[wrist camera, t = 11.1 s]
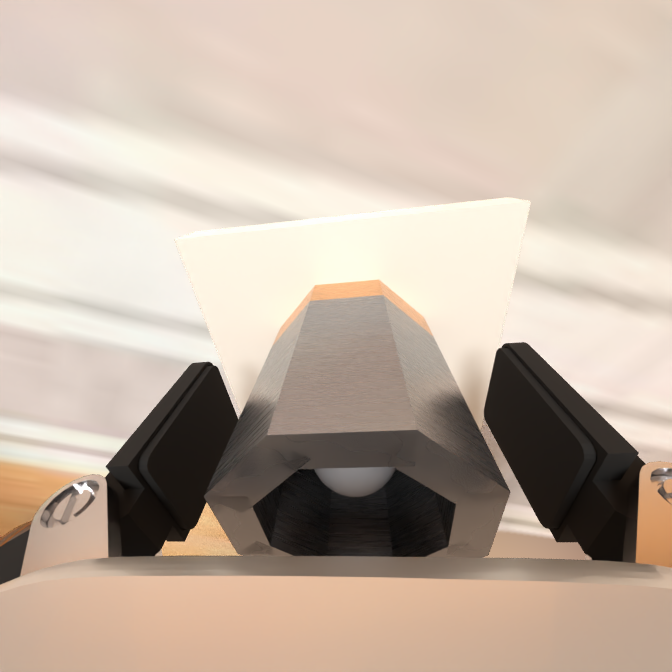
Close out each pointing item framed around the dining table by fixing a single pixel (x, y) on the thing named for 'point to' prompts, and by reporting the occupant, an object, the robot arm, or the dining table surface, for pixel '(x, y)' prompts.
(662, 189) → the dining table surface
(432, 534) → the loose sleeve
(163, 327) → the dining table surface
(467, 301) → the pin board
